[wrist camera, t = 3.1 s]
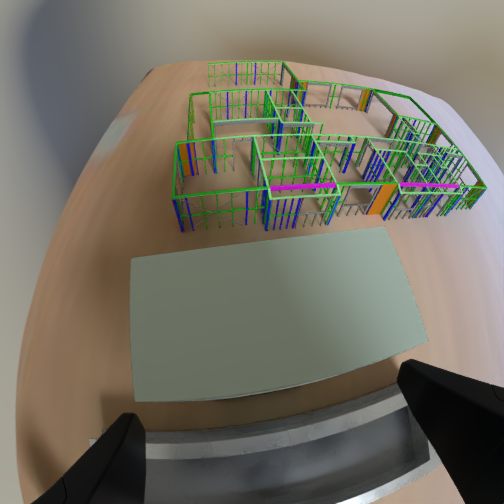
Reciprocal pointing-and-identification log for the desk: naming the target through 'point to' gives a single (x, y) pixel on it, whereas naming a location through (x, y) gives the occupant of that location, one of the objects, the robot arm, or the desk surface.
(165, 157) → the desk surface
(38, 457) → the desk surface
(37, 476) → the desk surface
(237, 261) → the door panel
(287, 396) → the desk surface
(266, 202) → the house model
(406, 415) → the door track
